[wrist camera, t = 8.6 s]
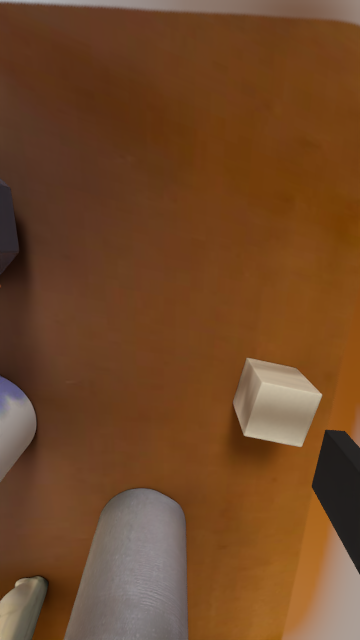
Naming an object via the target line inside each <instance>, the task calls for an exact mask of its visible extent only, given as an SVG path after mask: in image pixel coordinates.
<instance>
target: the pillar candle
mask: <svg viewBox="0 0 360 640" xmlns="http://www.w3.org/2000/svg"><path fill="white" fill-rule="evenodd" d="M64 640H188V610H187V557H186V521H185V516H184V513H183V511H182V509H181V507H180V505H179V504H178V503H177V502H175V501H174V500H172V499H170V498H169V497H167V496H165V495H163V494H161V493H159V492H157V491H155V490H152V489H144V488H138V489H131V490H127V491H124V492H122V493H120V494H118V495H116V496H115V497H113V498H112V499H111V500H110V501H109V502H108V503H107V504H106V506H105V507H104V509H103V510H102V512H101V515H100V518H99V521H98V525H97V529H96V532H95V535H94V538H93V542H92V546H91V549H90V552H89V556H88V559H87V562H86V566H85V568H84V572H83V575H82V579H81V582H80V586H79V589H78V593H77V597H76V600H75V603H74V607H73V609H72V613H71V617H70V621H69V624H68V627H67V631H66V634H65V638H64Z"/></svg>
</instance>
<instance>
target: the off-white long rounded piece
mask: <svg viewBox="0 0 360 640" xmlns="http://www.w3.org/2000/svg"><path fill="white" fill-rule="evenodd" d="M47 588H48V582H47V581H46V580H45V579H44V578H42V577H39V576H36V577H33V578H23V579H20V580H18V581H17V582H16V584H15V588H14V589H12V590H11V591H10V592H9V593H7V594H6V595H5V596H4V597H3V599H2V600H1V601H0V640H32V637H33V634H34V630H35V627H36V623H37V620H38V617H39V614H40V611H41V608H42V605H43V602H44V599H45V596H46V593H47Z"/></svg>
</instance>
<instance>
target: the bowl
mask: <svg viewBox="0 0 360 640" xmlns="http://www.w3.org/2000/svg"><path fill="white" fill-rule="evenodd" d="M18 253H19V244H18V237H17V230H16V223H15V216H14V209H13V202H12V194H11V189H10V187H9V186H8V185H7V184H6V183H5V182H4V181H3V180H2V179H0V275H1V273H2V272H3V271H4V270H5V269H6V267H7V266H8V265H9V264H10V263H11V261H12V260H13V259H14V258H15V257H16V255H17V254H18ZM0 288H1V285H0Z"/></svg>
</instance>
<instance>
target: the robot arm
mask: <svg viewBox="0 0 360 640" xmlns="http://www.w3.org/2000/svg"><path fill="white" fill-rule="evenodd" d="M312 488H313V490H314V492H315V494H316V495H317V497H318V499H319V501H320V503H321V505H322V506H323V508H324V510H325V512H326V514H327V515H328V517H329V519H330V521H331V523H332V525H333V527H334V528H335V530H336V532H337V534H338V536H339V538H340V539H341V541H342V543H343V545H344V547H345V548H346V550H347V552H348V554H349V556H350V558H351V559H352V561H353V563H354V564H355V567H356V569H357V570H358V572H359V574H360V448H359V446H358V445H357V444H356V443H355V442H354V441H353V440H352V439H351V438H350V436H349V435H348V434H347V433H346V432H345V431H336V430H325V434H324V438H323V442H322V446H321V450H320V454H319V458H318V463H317V467H316V471H315V475H314V479H313V483H312Z"/></svg>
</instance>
